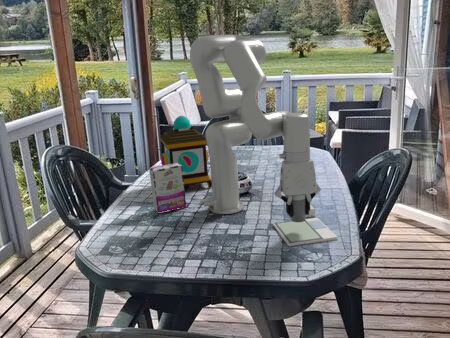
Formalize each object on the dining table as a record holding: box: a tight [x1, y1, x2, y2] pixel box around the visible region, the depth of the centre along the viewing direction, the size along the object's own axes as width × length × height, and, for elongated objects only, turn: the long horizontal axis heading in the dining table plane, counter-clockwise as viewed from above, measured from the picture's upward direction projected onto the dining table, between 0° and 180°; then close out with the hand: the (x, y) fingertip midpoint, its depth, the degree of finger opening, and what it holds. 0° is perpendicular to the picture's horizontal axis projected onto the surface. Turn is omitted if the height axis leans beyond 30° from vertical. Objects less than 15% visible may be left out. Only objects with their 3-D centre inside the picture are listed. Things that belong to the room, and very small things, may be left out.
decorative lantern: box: [159, 115, 212, 188], centre depth 184 cm, size 20×20×30 cm
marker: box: [290, 194, 307, 222], centre depth 133 cm, size 4×4×9 cm
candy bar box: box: [148, 163, 187, 213], centre depth 160 cm, size 11×5×16 cm, turn 117°
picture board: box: [272, 217, 339, 247], centre depth 136 cm, size 15×16×1 cm
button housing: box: [306, 204, 316, 218], centre depth 150 cm, size 6×6×3 cm
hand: (298, 213), depth 134 cm, fingers closed on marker, 4 cm apart
